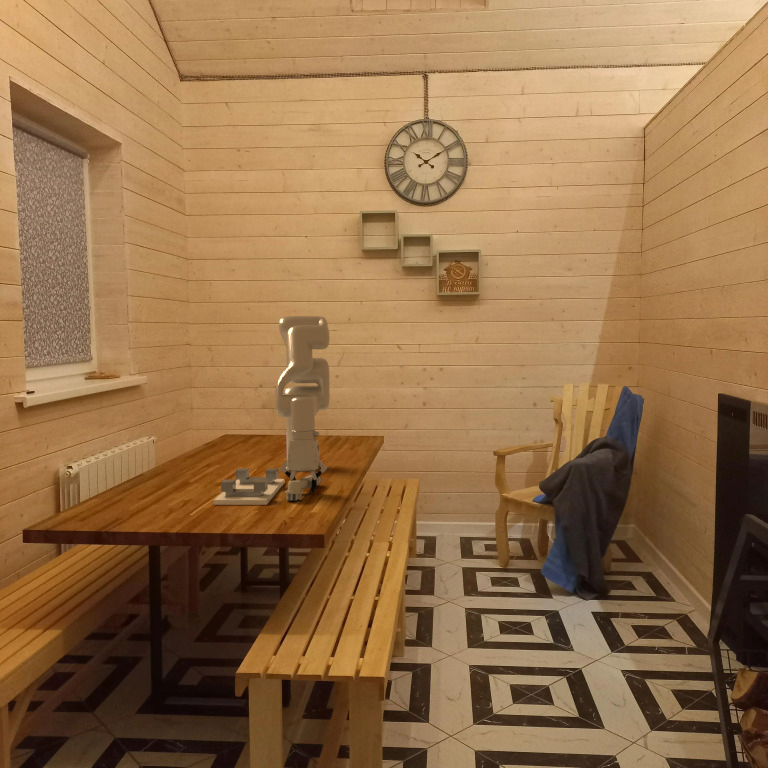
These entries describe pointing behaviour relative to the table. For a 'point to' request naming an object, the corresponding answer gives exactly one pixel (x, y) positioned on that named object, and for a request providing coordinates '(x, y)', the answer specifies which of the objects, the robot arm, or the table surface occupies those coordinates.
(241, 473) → the v blocks
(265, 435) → the table surface
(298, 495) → the white handheld device
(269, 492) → the stand board
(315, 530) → the table surface
